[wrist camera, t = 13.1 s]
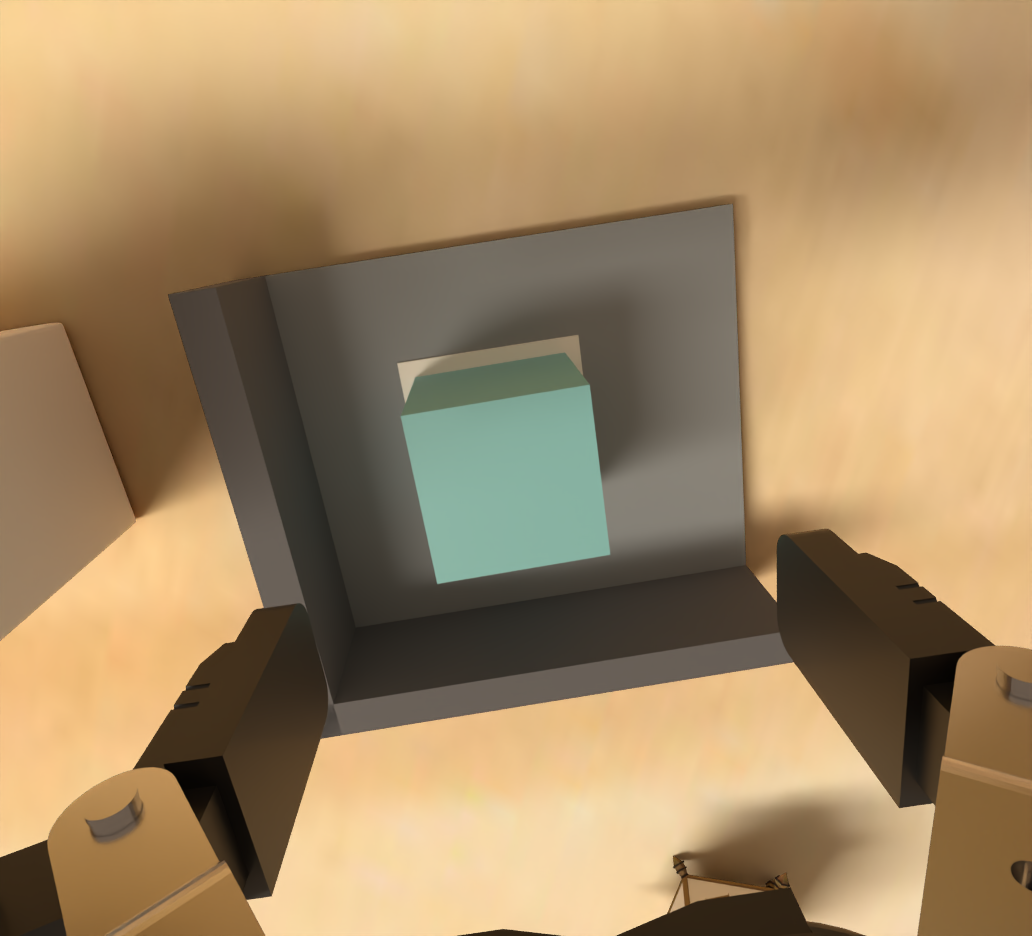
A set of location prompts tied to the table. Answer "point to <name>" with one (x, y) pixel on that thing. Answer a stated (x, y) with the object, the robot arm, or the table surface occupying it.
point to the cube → (506, 467)
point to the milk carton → (50, 472)
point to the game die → (714, 887)
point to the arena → (392, 490)
